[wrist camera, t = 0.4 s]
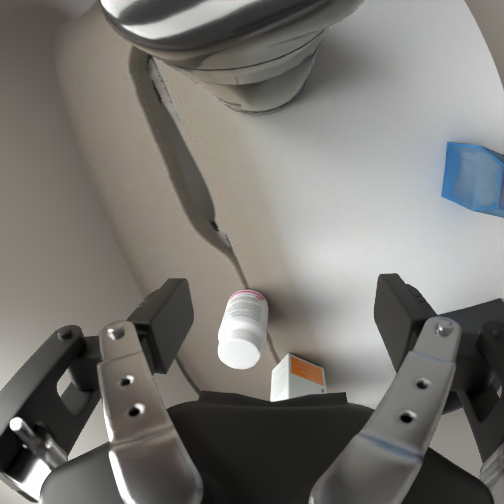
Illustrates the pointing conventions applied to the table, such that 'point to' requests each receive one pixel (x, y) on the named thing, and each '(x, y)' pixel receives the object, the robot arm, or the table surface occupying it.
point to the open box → (472, 323)
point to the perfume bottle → (474, 178)
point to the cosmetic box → (296, 379)
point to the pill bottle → (243, 329)
